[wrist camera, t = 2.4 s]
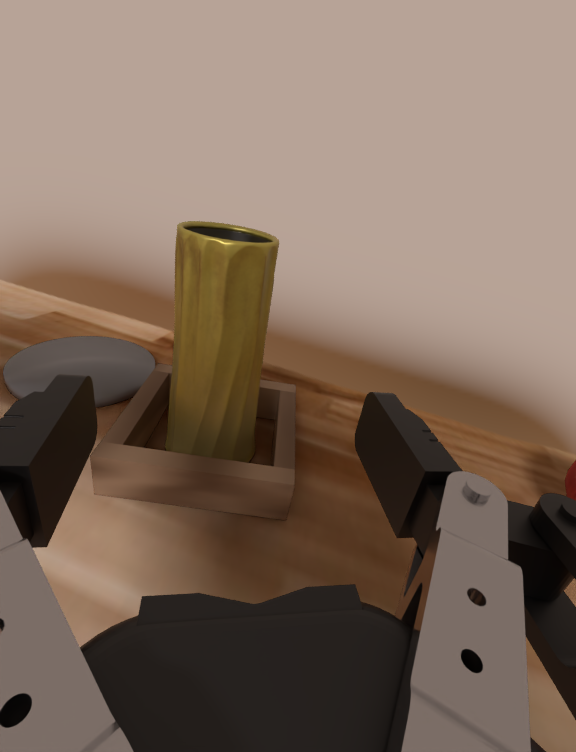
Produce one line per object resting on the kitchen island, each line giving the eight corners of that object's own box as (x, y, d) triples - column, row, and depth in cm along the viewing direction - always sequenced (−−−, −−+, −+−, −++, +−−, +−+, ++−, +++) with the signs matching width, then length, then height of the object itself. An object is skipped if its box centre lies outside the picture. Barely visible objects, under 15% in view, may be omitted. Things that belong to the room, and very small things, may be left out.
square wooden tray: (94, 494, 21) (90, 455, 20) (158, 393, 30) (158, 363, 29) (286, 520, 22) (294, 485, 20) (289, 413, 31) (295, 384, 30)
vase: (146, 443, 25) (142, 217, 18) (214, 410, 30) (230, 220, 23) (207, 493, 22) (229, 248, 16) (272, 448, 27) (311, 244, 20)
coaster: (-33, 396, 26) (-36, 386, 26) (56, 336, 36) (55, 328, 36) (125, 419, 27) (125, 410, 27) (171, 354, 37) (171, 347, 36)
